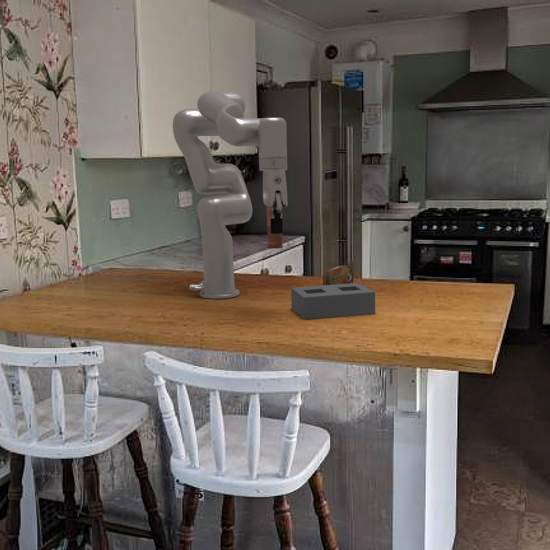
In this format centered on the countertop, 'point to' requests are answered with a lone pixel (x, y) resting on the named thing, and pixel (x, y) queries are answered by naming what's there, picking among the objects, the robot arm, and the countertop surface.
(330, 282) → the tin
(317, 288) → the bore block
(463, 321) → the countertop surface
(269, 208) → the pin
